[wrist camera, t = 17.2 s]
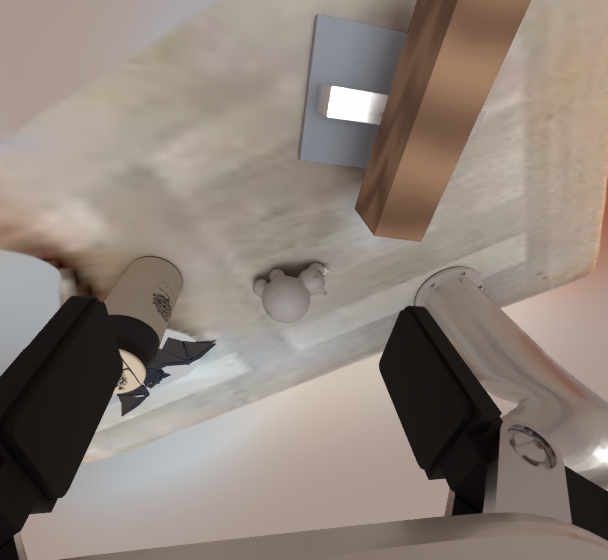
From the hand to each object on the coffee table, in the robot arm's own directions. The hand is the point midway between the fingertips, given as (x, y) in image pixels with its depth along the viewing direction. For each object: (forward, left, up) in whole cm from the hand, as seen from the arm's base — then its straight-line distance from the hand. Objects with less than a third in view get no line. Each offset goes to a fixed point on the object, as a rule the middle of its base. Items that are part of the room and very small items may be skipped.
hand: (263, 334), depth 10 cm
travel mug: (-21, +15, -34) cm, 42 cm away
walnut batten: (+6, -14, -24) cm, 29 cm away
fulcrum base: (+6, -14, -33) cm, 37 cm away
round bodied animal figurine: (-20, -6, -34) cm, 39 cm away
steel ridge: (+6, -14, -32) cm, 35 cm away
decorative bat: (-42, +19, -34) cm, 58 cm away
